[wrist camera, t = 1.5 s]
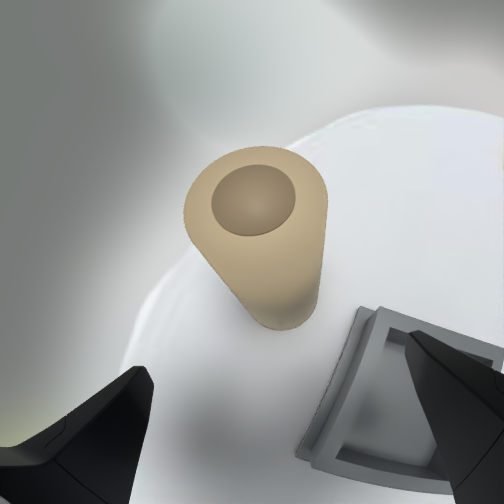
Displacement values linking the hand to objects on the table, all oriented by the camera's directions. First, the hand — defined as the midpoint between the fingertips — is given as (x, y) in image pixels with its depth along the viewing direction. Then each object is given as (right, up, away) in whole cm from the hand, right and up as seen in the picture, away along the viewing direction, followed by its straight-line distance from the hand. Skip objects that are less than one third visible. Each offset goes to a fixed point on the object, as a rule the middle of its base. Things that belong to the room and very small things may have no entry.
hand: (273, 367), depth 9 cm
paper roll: (+2, 0, +14) cm, 14 cm away
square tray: (+10, -8, +8) cm, 15 cm away
